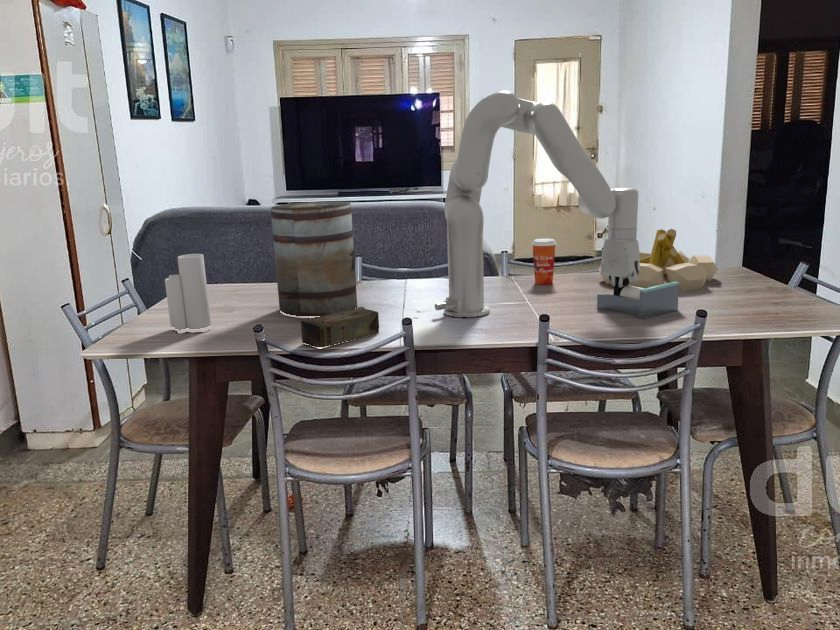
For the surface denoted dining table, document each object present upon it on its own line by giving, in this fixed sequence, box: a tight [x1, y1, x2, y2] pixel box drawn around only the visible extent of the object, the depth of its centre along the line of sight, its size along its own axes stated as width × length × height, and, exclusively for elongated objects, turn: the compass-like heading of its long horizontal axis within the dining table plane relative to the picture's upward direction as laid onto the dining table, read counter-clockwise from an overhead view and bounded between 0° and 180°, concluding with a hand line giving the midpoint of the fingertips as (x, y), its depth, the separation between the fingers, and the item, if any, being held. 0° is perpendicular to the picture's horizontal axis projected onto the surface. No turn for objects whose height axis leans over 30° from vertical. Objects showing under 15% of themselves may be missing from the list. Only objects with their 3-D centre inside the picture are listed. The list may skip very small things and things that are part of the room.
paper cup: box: [531, 238, 558, 286], centre depth 230 cm, size 8×8×14 cm
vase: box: [164, 253, 212, 330], centre depth 189 cm, size 11×7×20 cm, turn 85°
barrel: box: [269, 201, 358, 316], centre depth 206 cm, size 22×22×30 cm
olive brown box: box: [300, 306, 380, 347], centre depth 177 cm, size 8×19×7 cm, turn 134°
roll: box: [620, 286, 644, 300], centre depth 193 cm, size 10×6×6 cm, turn 34°
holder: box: [596, 282, 680, 319], centre depth 194 cm, size 14×16×8 cm
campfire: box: [598, 228, 719, 292], centre depth 227 cm, size 35×34×17 cm
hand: (619, 300), depth 199 cm, fingers closed
